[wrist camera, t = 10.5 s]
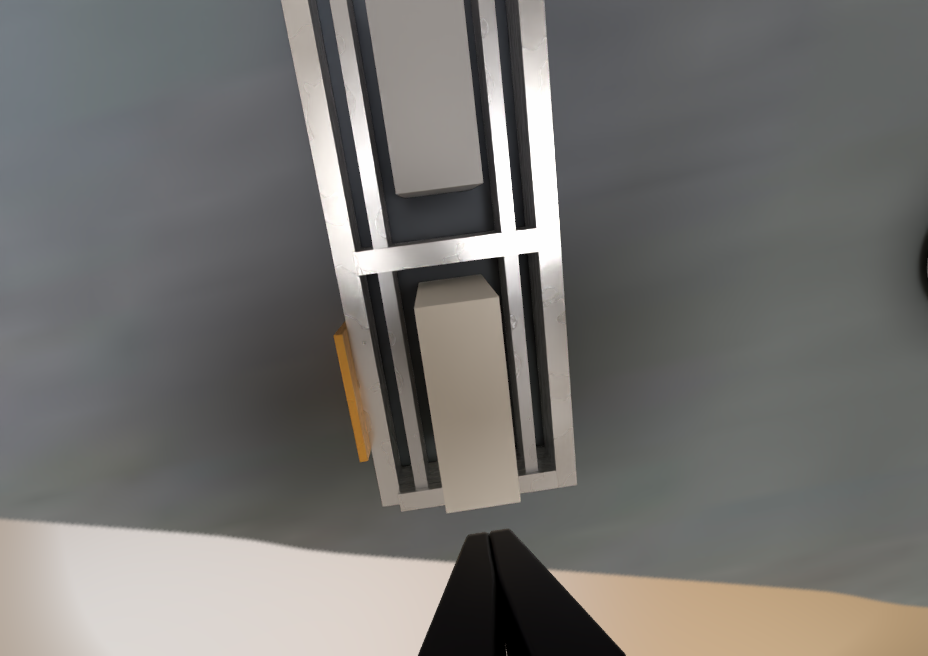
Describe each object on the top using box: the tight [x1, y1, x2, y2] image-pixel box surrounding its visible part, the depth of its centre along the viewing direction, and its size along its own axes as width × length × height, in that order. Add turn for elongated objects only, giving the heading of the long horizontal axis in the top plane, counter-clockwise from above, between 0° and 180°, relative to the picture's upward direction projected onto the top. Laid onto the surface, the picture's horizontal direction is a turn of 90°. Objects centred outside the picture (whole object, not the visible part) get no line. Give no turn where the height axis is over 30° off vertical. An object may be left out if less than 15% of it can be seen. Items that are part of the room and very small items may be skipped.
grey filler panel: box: [365, 0, 483, 198], centre depth 14 cm, size 2×6×4 cm, turn 7°
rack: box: [281, 0, 577, 512], centre depth 16 cm, size 8×20×2 cm, turn 7°
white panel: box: [414, 274, 521, 513], centre depth 16 cm, size 2×7×5 cm, turn 7°
